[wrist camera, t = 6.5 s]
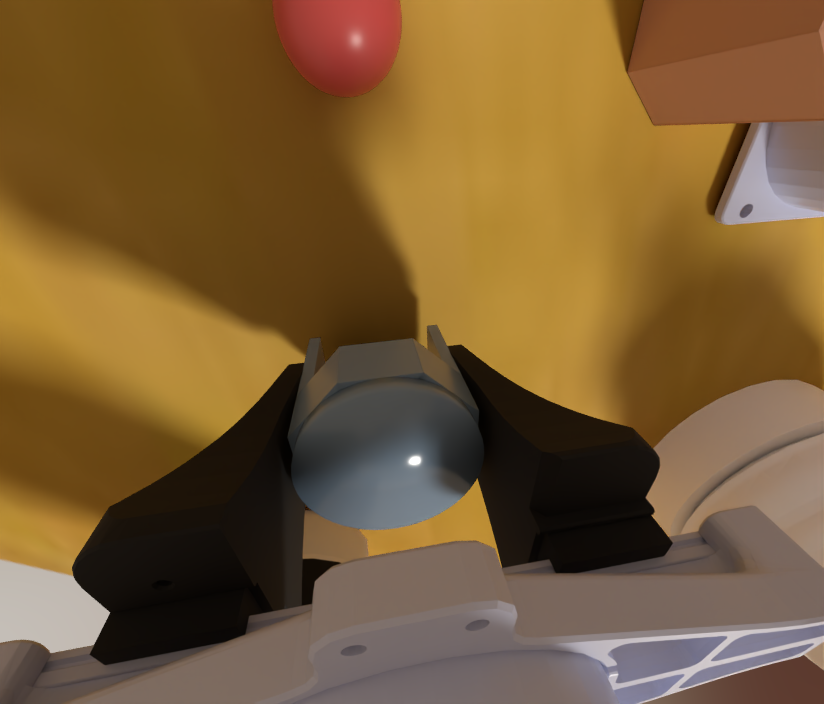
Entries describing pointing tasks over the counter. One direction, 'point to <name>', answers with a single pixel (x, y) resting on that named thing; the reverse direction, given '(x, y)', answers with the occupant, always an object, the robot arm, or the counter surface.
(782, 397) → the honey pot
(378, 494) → the slate-blue dome with prongs
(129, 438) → the counter surface
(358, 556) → the supplement can
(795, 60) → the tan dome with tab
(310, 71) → the red marble
